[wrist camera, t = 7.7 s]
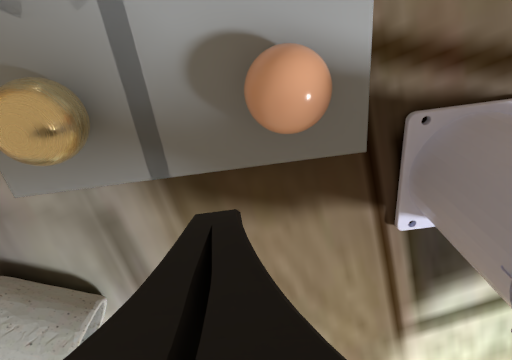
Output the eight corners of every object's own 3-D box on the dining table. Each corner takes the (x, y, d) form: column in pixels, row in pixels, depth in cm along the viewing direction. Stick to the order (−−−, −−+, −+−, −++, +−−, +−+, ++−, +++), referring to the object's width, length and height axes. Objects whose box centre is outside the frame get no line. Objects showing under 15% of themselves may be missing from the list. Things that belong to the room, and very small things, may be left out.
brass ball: (86, 65, 14) (42, 80, 11) (112, 141, 15) (82, 174, 12) (4, 75, 14) (-63, 94, 11) (39, 151, 15) (-10, 187, 12)
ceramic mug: (-18, 245, 21) (-141, 362, 14) (114, 272, 22) (62, 389, 16) (-14, 346, 25) (-104, 471, 19) (96, 363, 27) (49, 483, 20)
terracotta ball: (319, 34, 14) (344, 41, 11) (321, 114, 15) (343, 140, 12) (237, 45, 14) (238, 55, 11) (248, 123, 15) (251, 152, 12)
